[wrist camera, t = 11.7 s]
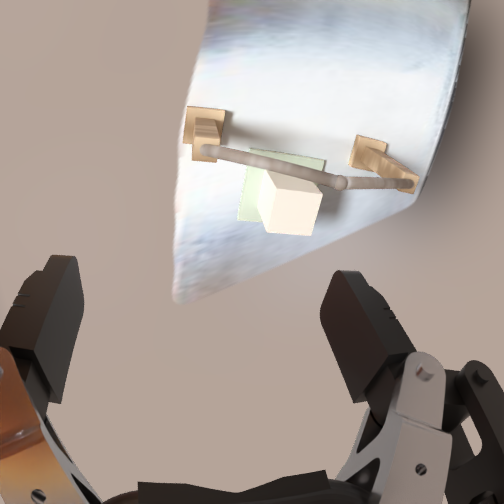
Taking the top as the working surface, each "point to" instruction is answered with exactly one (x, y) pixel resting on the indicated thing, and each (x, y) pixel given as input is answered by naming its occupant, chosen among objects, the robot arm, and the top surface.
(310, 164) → the mat
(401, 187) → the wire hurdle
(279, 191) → the cream block
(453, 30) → the top surface
